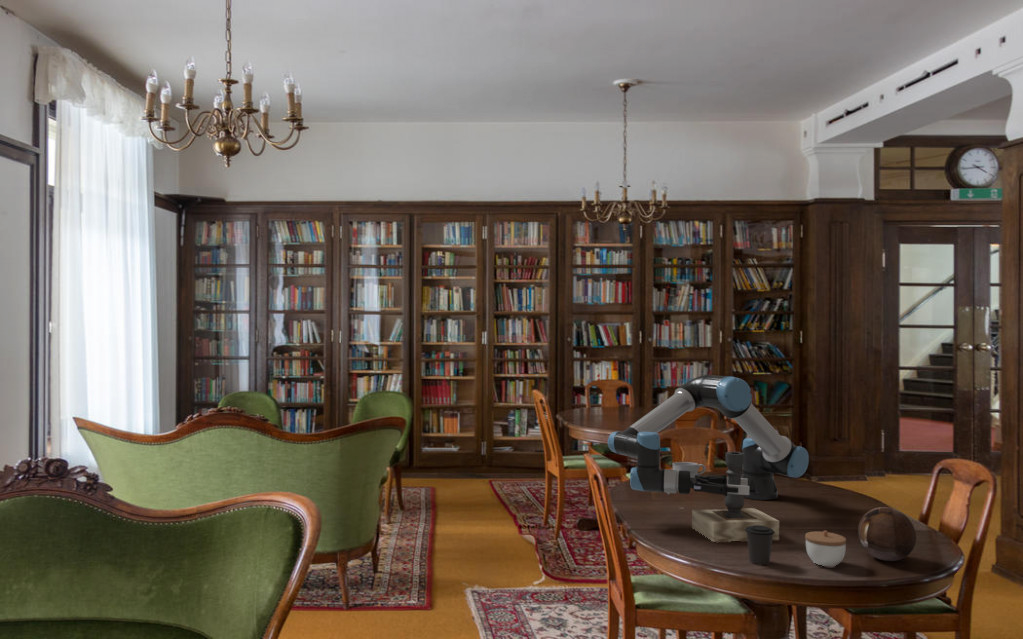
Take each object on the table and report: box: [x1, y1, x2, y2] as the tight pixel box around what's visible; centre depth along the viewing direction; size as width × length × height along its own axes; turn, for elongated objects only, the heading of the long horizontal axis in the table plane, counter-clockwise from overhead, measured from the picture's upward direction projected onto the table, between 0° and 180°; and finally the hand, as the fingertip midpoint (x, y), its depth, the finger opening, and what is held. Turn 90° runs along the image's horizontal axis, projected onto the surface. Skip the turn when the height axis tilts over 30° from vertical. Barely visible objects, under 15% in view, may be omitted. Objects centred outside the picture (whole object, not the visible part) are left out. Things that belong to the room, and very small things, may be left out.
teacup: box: [672, 461, 706, 478], centre depth 314 cm, size 14×11×8 cm
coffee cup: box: [745, 525, 775, 566], centre depth 209 cm, size 8×8×10 cm
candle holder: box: [724, 451, 745, 519], centre depth 237 cm, size 6×6×25 cm
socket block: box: [691, 507, 780, 543], centre depth 237 cm, size 22×16×6 cm
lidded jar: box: [804, 530, 847, 567], centre depth 208 cm, size 11×11×9 cm
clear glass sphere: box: [857, 506, 917, 562], centre depth 213 cm, size 15×15×15 cm
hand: (748, 486), depth 236 cm, fingers open, 10 cm apart
